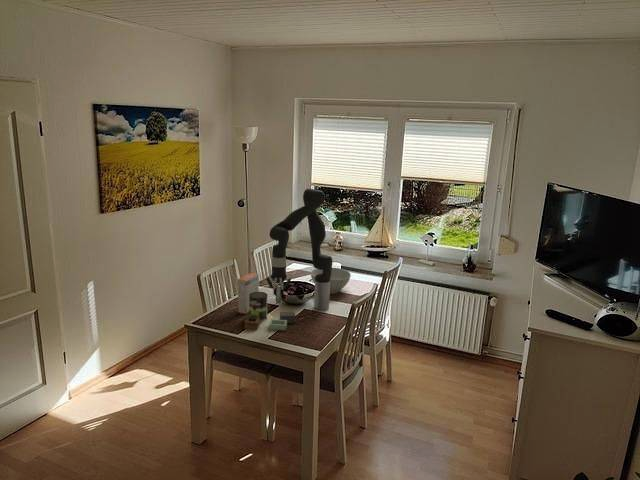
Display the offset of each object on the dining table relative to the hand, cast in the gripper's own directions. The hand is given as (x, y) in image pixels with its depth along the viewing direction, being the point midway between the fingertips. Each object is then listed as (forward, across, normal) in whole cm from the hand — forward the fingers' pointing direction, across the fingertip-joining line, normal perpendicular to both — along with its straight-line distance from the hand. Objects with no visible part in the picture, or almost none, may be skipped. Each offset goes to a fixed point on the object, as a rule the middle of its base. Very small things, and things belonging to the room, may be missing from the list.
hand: (278, 295), depth 249 cm
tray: (+19, 0, 0) cm, 19 cm away
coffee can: (+19, +13, -11) cm, 25 cm away
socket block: (+19, +14, +1) cm, 23 cm away
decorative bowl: (+19, -26, -62) cm, 70 cm away
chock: (+19, -4, -9) cm, 22 cm away
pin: (+4, 0, 0) cm, 4 cm away
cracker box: (+19, +21, -22) cm, 36 cm away
